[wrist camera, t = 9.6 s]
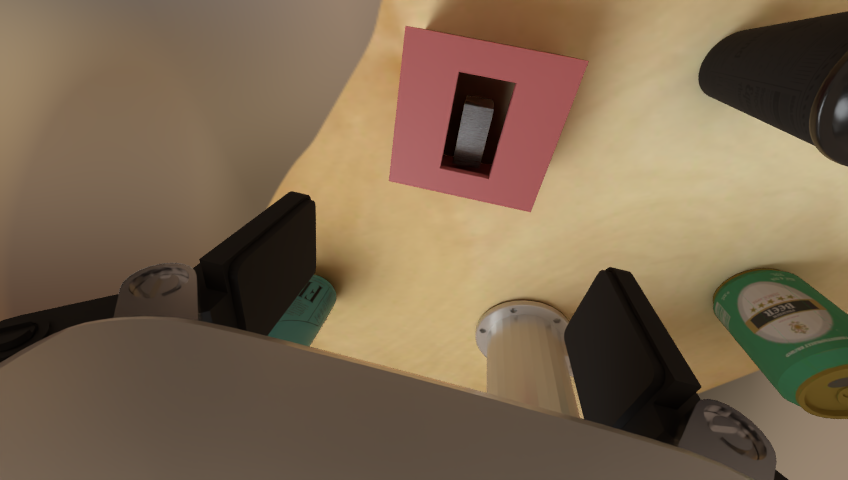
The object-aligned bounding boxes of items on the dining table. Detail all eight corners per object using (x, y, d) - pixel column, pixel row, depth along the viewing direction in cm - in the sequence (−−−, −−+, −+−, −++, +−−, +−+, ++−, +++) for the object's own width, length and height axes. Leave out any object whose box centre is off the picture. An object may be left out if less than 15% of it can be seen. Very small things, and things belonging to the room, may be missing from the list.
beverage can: (783, 251, 33) (913, 346, 23) (809, 301, 35) (938, 406, 25) (695, 287, 37) (774, 382, 26) (724, 329, 39) (807, 431, 29)
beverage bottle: (339, 268, 44) (247, 410, 27) (344, 305, 48) (266, 450, 31) (294, 263, 45) (178, 397, 28) (303, 299, 48) (204, 437, 32)
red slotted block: (564, 55, 27) (588, 61, 21) (522, 177, 33) (530, 212, 27) (425, 29, 28) (405, 26, 21) (408, 152, 34) (388, 180, 27)
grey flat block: (493, 109, 26) (479, 168, 29) (493, 99, 30) (480, 152, 33) (464, 103, 26) (452, 163, 29) (467, 95, 30) (456, 147, 33)
